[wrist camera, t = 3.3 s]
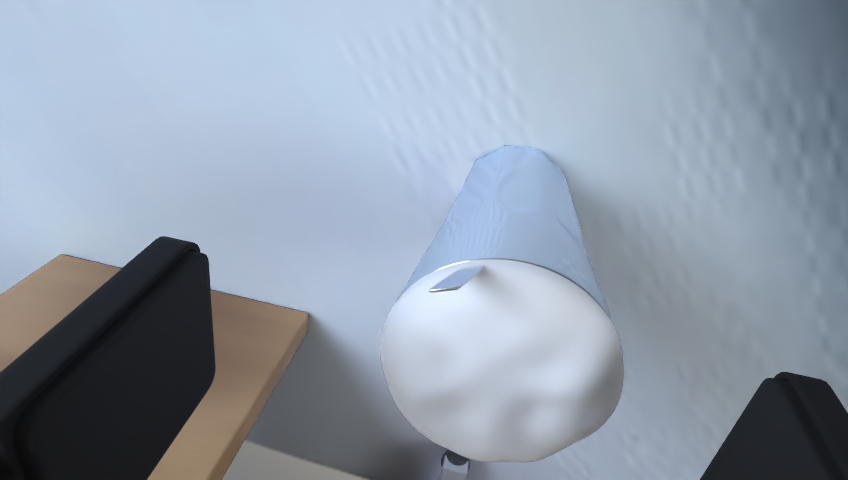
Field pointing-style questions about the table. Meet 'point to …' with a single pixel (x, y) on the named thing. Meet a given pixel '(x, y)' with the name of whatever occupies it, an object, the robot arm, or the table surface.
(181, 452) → the desk
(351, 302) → the table surface
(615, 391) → the milkshake
